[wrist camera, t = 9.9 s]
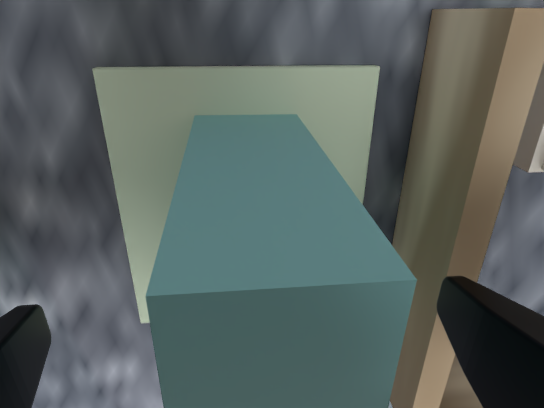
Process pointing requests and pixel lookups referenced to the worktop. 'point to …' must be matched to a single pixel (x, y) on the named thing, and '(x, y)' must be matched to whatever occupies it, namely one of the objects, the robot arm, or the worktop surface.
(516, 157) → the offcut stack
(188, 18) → the worktop surface
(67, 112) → the worktop surface
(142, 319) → the sage mat
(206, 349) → the teal cuboid
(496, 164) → the birch rack
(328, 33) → the worktop surface
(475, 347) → the robot arm
